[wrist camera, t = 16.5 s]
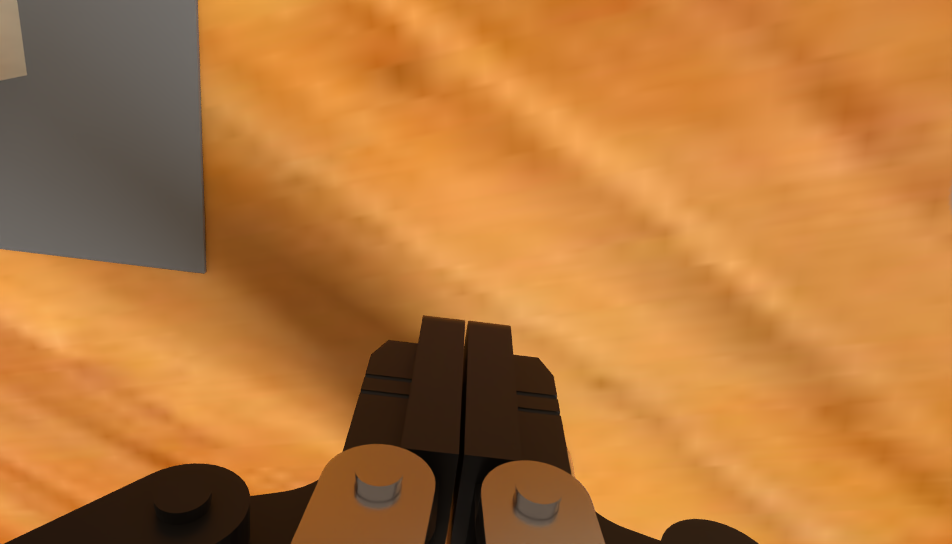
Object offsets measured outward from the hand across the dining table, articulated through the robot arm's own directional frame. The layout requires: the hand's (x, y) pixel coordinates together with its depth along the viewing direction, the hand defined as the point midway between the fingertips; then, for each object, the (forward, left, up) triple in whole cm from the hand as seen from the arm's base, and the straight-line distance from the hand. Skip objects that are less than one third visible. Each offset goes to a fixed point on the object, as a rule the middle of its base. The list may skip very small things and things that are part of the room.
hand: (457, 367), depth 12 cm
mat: (-2, +25, -29) cm, 38 cm away
